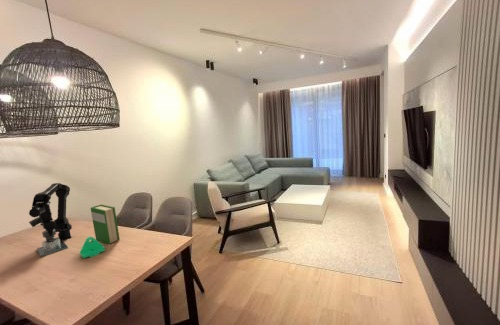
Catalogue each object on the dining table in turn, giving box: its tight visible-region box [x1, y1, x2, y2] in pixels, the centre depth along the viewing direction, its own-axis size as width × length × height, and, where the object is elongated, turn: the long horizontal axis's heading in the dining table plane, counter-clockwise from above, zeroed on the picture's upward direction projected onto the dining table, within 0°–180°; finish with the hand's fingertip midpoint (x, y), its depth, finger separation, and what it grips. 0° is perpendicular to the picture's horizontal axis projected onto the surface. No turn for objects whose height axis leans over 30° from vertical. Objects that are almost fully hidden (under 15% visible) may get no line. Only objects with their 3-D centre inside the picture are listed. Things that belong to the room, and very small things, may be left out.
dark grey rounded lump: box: [41, 229, 57, 240], centre depth 163 cm, size 7×7×6 cm
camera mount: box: [79, 236, 106, 259], centre depth 153 cm, size 12×8×10 cm, turn 135°
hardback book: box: [90, 204, 120, 245], centre depth 171 cm, size 18×7×24 cm, turn 57°
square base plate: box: [36, 237, 69, 258], centre depth 164 cm, size 14×16×6 cm
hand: (49, 234), depth 163 cm, fingers closed on dark grey rounded lump, 7 cm apart
